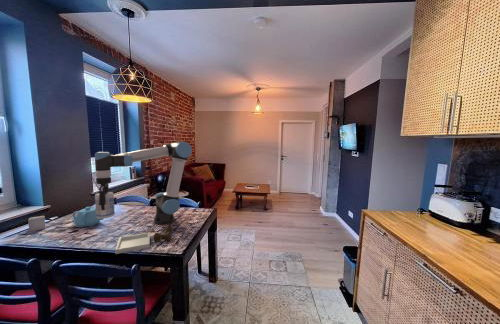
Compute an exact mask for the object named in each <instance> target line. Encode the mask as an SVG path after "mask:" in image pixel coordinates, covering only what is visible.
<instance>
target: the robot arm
mask: <svg viewBox="0 0 500 324" xmlns="http://www.w3.org/2000/svg"><path fill="white" fill-rule="evenodd" d="M192 149H193V148H192V146H191V144H189V143H188V142H185V141H174V142H170V143H167V144H164V145H163V146H158V147H151V148H146V149H139V150H135V151H129V152H123V153H117V154H115V155H114V154H111V153H110V152H109V151H97V152H95V154H94V166H95V168H94V169H95V171H94V174H95V177H96V178H95V183H96V184H97V185H100V186H99V188H98V193H99V204H98V205H100V210H101V215H106V203H105V202H106V198H105V195H106V194H107V192H110V188H109V184H112V177H111V176H112V170H111V168H118V167H119V168H120V167H131V166H132V167H133V163H135V162H142V161H147V160H151V159H156V158H162V157H167V158H168V157H171V159H172V164H171V167H170V168H171V169H170V173H169V177H168V180H167V181H168V182H167V185H166V189H165V190H166V191H164V192H158V193H156V194H155V206H156V207H155V210H156V211H155V216H154V219H153V222H154V224H156V225H168V224H171V223H173V222H174V221H175V220H176V219H175V213H177V212H178V211H179V209H180V206H181V205H180V204H181V203H180V202H179V201H180V198H181V197H180V195H179V190H180V186H181V182H182V177H183V173H184V168H185V164H186V163H187V162H188V160H189V157H190V156H191V154H192V152H193V150H192Z"/></svg>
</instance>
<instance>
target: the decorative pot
mask: <svg viewBox="0 0 500 324" xmlns="http://www.w3.org/2000/svg"><path fill="white" fill-rule="evenodd" d="M76 214H77V215H76ZM72 218H73V219H72V223H73V224H75V226H76V227H79V228H83V227H94V226H95V225H97V224H98V223H100V221H103V220H104V219H98V218H97V217H96V207H94V206H93V207H91V206H86V207H85V208H82V209H80V210H76V211H73V212H72Z"/></svg>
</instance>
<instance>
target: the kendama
mask: <svg viewBox="0 0 500 324" xmlns="http://www.w3.org/2000/svg"><path fill="white" fill-rule="evenodd" d="M172 231H173V226H171V225H168V224H167V225H166V226H164V229H163V233H159V232H154V234H153V242H155V243H157V242H161V241H162V240H164V241H167V242H171V241H172V240H171V238H172Z"/></svg>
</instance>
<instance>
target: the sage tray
mask: <svg viewBox="0 0 500 324" xmlns="http://www.w3.org/2000/svg"><path fill="white" fill-rule="evenodd" d="M150 234H151V233H150V232H143V233H136V234H129V235H125V236H124V235H123V236H120V237H119V238H118V240H117V244H116V247H115V251H114V252H115V253H114V254H115V255H119V254H124V253H129V252H134V251H138V250H139V251H141V250H145V249H150V244H151V243H150V242H151V240H150V237H151V235H150Z"/></svg>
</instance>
